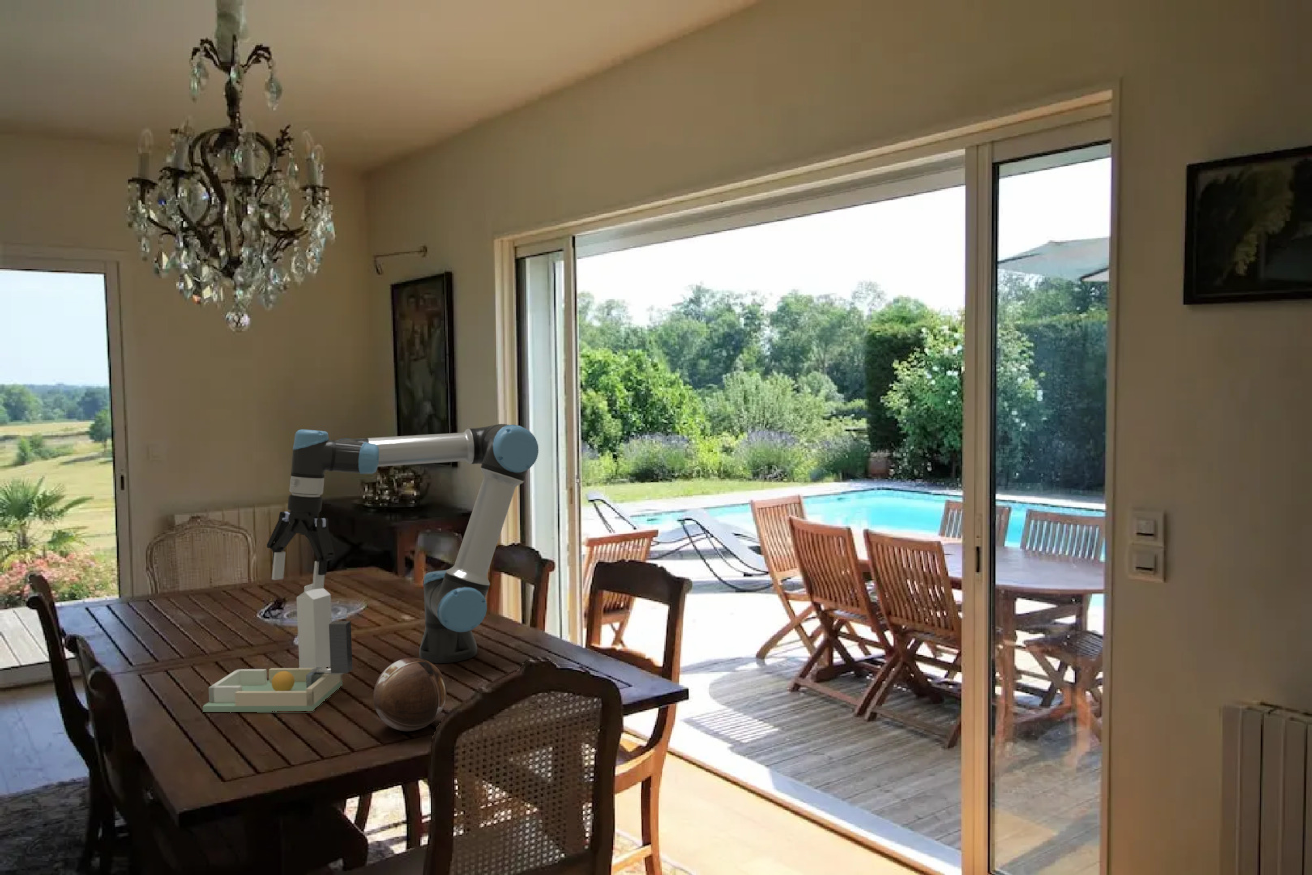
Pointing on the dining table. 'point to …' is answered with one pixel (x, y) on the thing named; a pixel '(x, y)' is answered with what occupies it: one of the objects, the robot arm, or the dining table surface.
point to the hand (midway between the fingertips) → (297, 583)
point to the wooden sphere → (410, 694)
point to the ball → (283, 681)
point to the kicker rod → (336, 652)
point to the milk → (314, 627)
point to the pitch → (269, 691)
